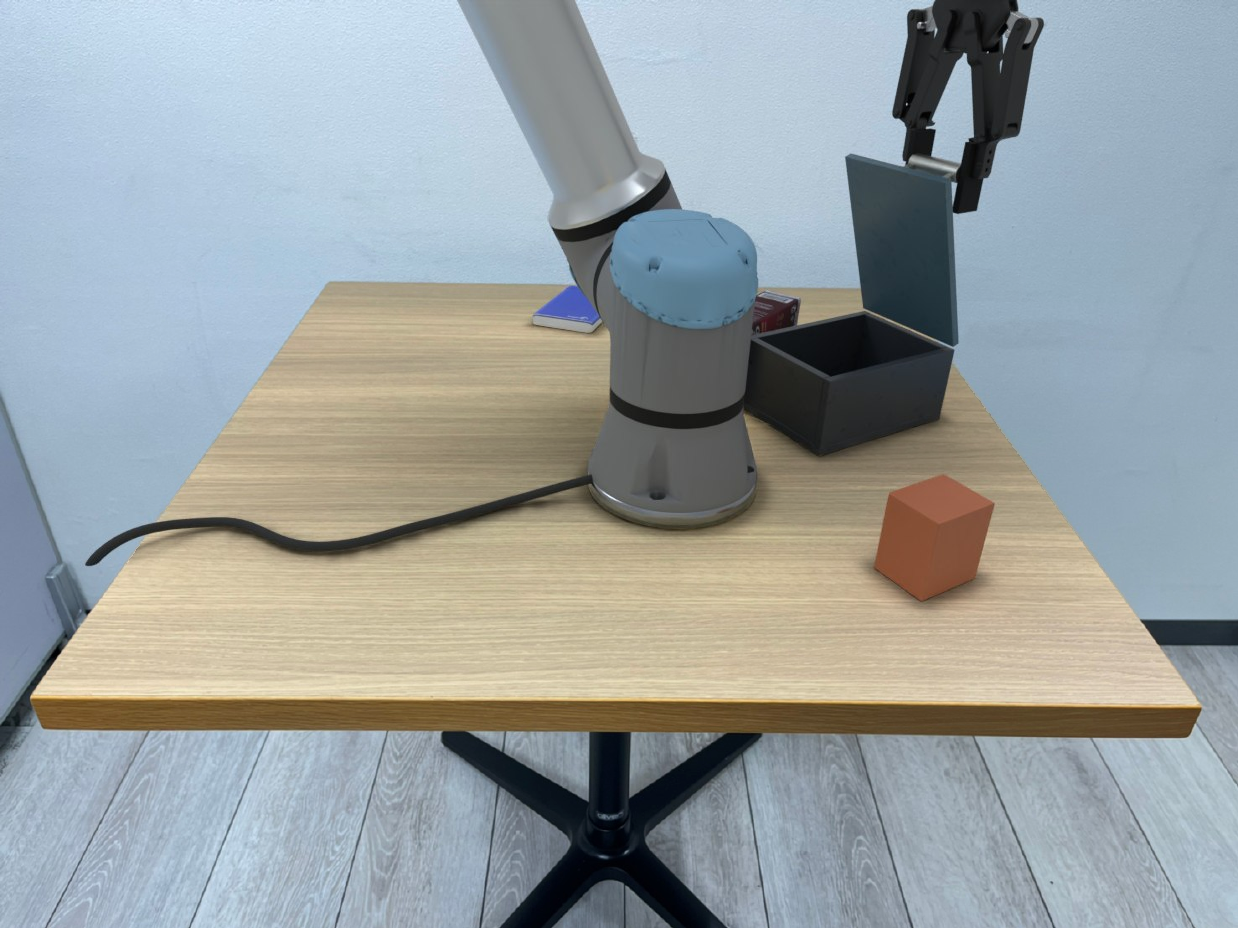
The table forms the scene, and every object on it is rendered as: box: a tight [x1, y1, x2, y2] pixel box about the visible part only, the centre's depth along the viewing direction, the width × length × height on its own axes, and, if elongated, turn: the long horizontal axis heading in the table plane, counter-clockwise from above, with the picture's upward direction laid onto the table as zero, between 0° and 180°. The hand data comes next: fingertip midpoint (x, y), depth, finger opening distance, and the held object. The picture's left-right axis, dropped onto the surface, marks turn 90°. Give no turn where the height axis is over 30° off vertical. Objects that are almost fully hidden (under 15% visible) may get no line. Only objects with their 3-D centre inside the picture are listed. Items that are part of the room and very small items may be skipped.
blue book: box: [532, 285, 603, 334], centre depth 121 cm, size 2×8×12 cm
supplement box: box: [751, 289, 802, 335], centre depth 101 cm, size 9×5×16 cm
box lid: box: [844, 153, 961, 348], centre depth 92 cm, size 18×13×7 cm
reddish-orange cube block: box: [873, 473, 996, 602], centre depth 70 cm, size 6×5×7 cm
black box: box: [743, 310, 956, 457], centre depth 95 cm, size 17×13×8 cm
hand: (937, 203), depth 91 cm, fingers closed on box lid, 6 cm apart
